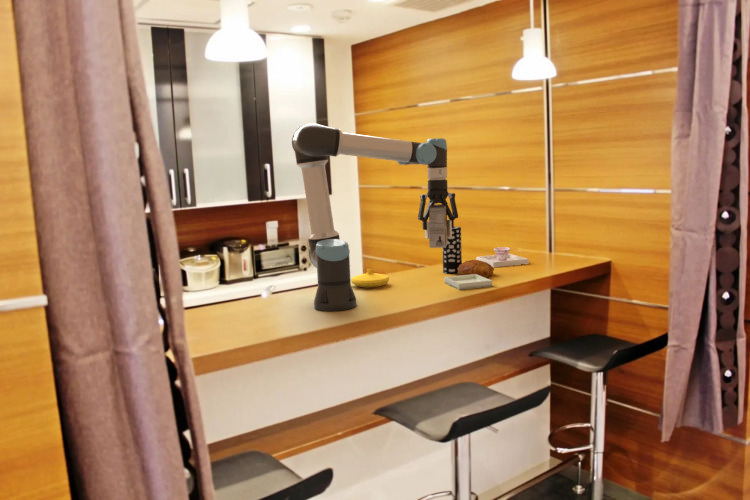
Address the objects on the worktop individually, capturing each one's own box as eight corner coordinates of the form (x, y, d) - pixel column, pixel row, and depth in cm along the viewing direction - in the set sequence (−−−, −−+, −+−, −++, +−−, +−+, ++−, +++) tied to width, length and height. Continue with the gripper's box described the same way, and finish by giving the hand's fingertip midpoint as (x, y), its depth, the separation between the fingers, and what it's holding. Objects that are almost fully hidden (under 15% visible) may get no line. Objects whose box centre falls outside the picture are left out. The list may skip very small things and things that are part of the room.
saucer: (493, 267, 283) (493, 262, 283) (476, 261, 301) (476, 256, 300) (528, 264, 288) (528, 259, 288) (510, 258, 305) (510, 253, 305)
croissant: (471, 285, 257) (472, 267, 255) (452, 274, 271) (452, 257, 269) (500, 280, 263) (501, 262, 261) (480, 270, 276) (480, 253, 274)
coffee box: (431, 244, 247) (430, 204, 245) (447, 244, 246) (447, 204, 244) (429, 247, 238) (428, 206, 236) (445, 247, 237) (445, 205, 235)
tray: (459, 290, 239) (459, 283, 239) (444, 283, 254) (444, 277, 253) (492, 286, 243) (492, 280, 243) (475, 279, 257) (475, 274, 257)
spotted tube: (465, 272, 275) (464, 227, 272) (451, 274, 270) (450, 229, 267) (453, 269, 282) (452, 226, 279) (439, 272, 277) (438, 228, 274)
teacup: (486, 260, 300) (486, 247, 299) (510, 258, 301) (510, 246, 300) (494, 264, 288) (494, 251, 287) (519, 262, 290) (519, 249, 289)
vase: (370, 280, 266) (370, 264, 265) (397, 285, 254) (396, 268, 253) (343, 287, 255) (342, 270, 254) (370, 291, 244) (369, 274, 242)
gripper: (414, 180, 232) (415, 240, 235) (467, 178, 238) (467, 236, 241) (408, 179, 239) (409, 238, 242) (459, 177, 245) (459, 234, 248)
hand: (438, 237), depth 242 cm, fingers closed on coffee box, 9 cm apart
